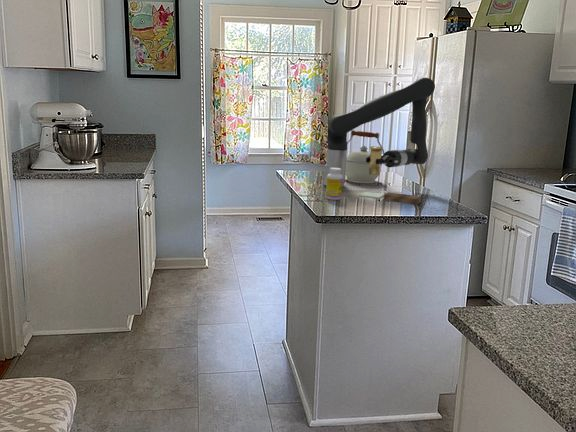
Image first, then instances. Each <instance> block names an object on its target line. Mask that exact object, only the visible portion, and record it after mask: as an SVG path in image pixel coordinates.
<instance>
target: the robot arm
mask: <svg viewBox="0 0 576 432" xmlns="http://www.w3.org/2000/svg"><path fill="white" fill-rule="evenodd" d="M435 89H436V84H435V81H434V80H433V79H432V78H429V77H426V76H425V77H421V78H418V79H415V81H413V83H411V84H408V86H405V87H403V88H401V89H397V90H393V91H390V92H388V93H385V94H382V95H379V96H378V97H374V98H372V99H371V100H369V101H367V102H366V103H364V104H363V105H362V106H360V107H359V108H357V109H356V110H353V111H350V112H347V113H344V114H334V115H332V116H331V117H330V119H329V120H328V123H327V136H326V137H327V141H326V142H327V148H326V149H327V151H326V161H325V163H326V164H325V165H324V172H323V186H326V184H327V175H328V174H330V168H340V169H341V172H340V174H341V175H342V176H343V182H342V188H343V187H344V186H345V179H346V175H345V170H346V158H347V156H348V155H347V154H348V144H347V142H348V141H347V140H348V139H347V138H348V133H349V132H351V131H353V130H354V129H356V128H359V127H360V126H362V125H365V124H368V123H371V122H374V121H375V120H376V121H377V120H379V119H381V118H383V117H385V116H386V117H387V116H389V115H390V114H392V113H394V112H396V111H398V110H400V109H401V108H403V107H404V106H405V107H406V105H408V104H411V103H412V110H411V113H412V114H411V116H412V117H411V127H410V139H409V141H410V143H412V144H415V145H416V147H417V148H407V149H392V150H386V151H384V155H383V154H382V155H381V159H376V164H382V165H384V166H385V167H387V168H397V167H398V168H399V167H403V166H409V165H411V164H413V165H415V164H416V165H425V164H426V162H427V161H428V158H429V153H428V149H427V148H428V147H427V142H426V141H427V140H426V137H427V116H426V115H427V114H426V112H427V111H426V109H427V101H428V98H429V97H430V96H432V95H433V93H434V92H435ZM366 162H367V163H369V162H370V156H369V157H367V158H366Z"/></svg>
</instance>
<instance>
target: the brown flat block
mask: <svg viewBox="0 0 576 432" xmlns="http://www.w3.org/2000/svg"><path fill="white" fill-rule="evenodd" d="M384 194H385V195H384V196H383V199H382V201H385V202H391V203H399V204H406V205H414V206H418V205H419V204H420V203H421V195H412V194H405V193H397V192H389V191H388V192H386V193H384Z"/></svg>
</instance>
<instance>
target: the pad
mask: <svg viewBox="0 0 576 432" xmlns="http://www.w3.org/2000/svg"><path fill="white" fill-rule="evenodd" d="M385 194H386V193H378V192H377V193H376V192H370V191H364V192H362V193H360V194H359V195H358V196H359V197H363V198H371V199H377V200H379V199H382V198H384V195H385Z"/></svg>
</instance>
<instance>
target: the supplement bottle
mask: <svg viewBox="0 0 576 432" xmlns="http://www.w3.org/2000/svg"><path fill="white" fill-rule="evenodd" d="M340 172H341V169H340V168H330V174H328V175H327V184H326V185H325V186H326V187H325V188H326V189H325V199H328V200H331V201H339V200H341V199H342V194H343V193H342V192H343V191H342V190H343V187H342V182H343V176H342V175H341V174H340Z"/></svg>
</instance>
